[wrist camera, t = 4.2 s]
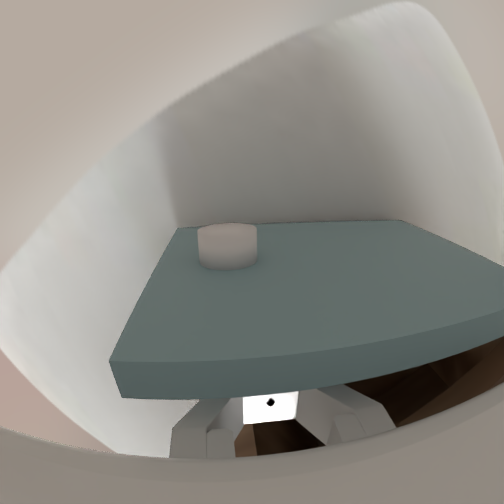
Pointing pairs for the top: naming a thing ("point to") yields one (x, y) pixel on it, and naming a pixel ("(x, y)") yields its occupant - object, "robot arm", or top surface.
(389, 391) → the cabinet box
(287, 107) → the top surface
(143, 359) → the door
